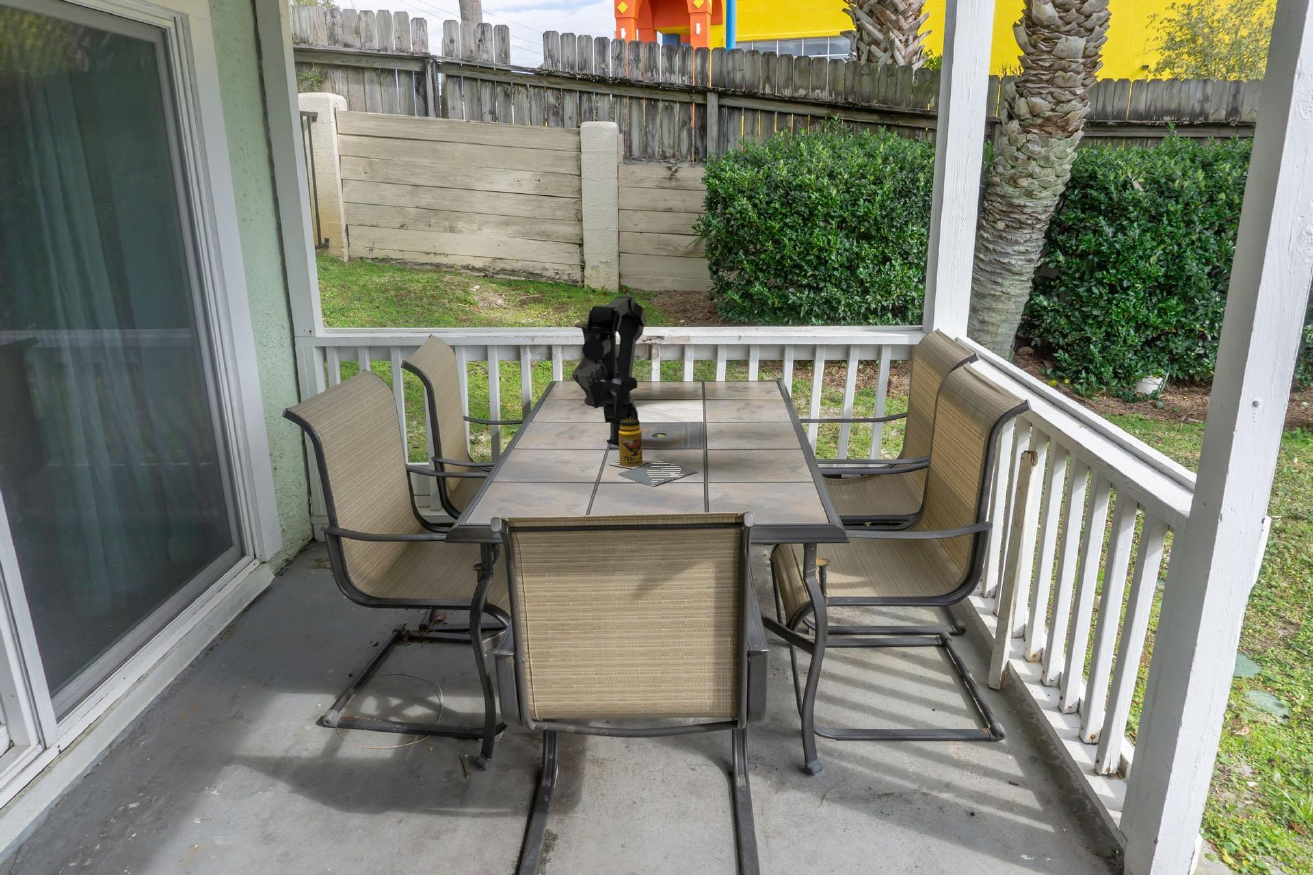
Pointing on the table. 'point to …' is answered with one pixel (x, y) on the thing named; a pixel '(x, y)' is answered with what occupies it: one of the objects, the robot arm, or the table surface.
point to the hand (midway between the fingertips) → (606, 410)
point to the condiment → (630, 444)
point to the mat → (643, 477)
